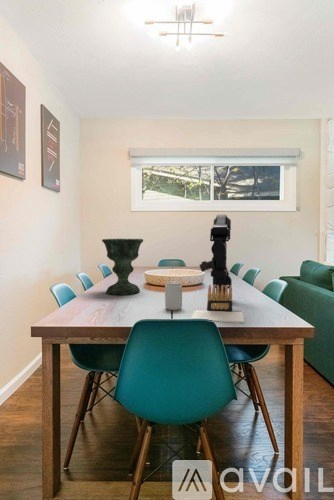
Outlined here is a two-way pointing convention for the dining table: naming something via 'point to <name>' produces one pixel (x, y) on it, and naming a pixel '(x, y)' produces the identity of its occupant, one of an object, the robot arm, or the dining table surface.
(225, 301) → the ammunition clip
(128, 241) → the goblet
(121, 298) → the dining table surface
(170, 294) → the can
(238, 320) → the mat
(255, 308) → the dining table surface
